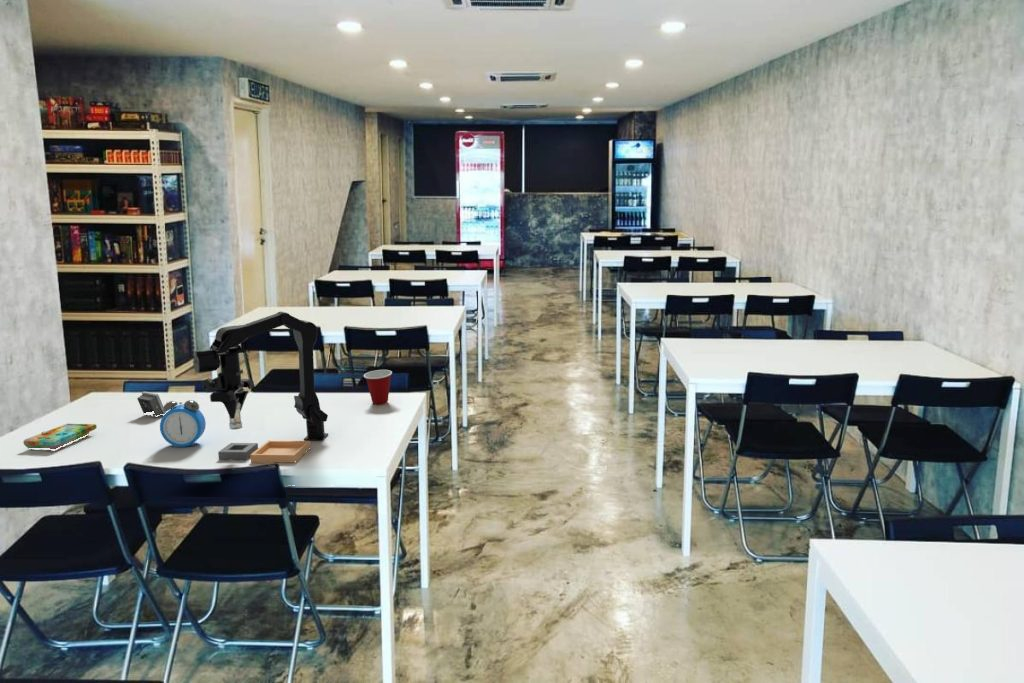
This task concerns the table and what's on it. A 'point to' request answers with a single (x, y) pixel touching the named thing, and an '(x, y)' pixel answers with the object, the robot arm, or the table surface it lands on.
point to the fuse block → (237, 451)
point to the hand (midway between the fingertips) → (235, 416)
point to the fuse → (236, 419)
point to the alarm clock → (182, 423)
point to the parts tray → (280, 451)
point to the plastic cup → (378, 385)
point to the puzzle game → (59, 436)
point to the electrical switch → (151, 403)
